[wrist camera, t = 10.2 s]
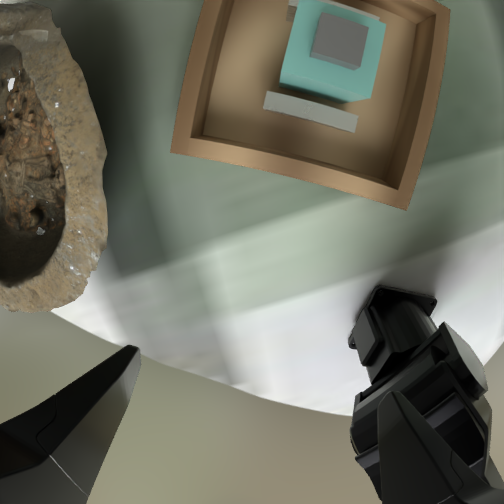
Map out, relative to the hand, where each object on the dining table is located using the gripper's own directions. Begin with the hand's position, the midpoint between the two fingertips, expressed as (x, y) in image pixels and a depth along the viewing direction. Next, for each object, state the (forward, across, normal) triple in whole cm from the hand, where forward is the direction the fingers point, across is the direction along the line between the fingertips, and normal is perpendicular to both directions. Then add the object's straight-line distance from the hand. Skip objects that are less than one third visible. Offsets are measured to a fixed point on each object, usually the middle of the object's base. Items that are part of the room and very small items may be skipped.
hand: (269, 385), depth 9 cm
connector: (+12, 0, -12) cm, 17 cm away
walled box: (+13, 0, -12) cm, 18 cm away
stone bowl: (+13, +22, -3) cm, 26 cm away
